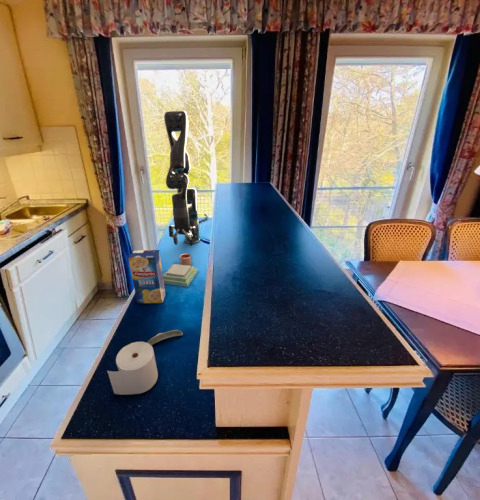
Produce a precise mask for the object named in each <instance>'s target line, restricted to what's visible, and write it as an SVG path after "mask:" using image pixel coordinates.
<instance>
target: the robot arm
mask: <svg viewBox="0 0 480 500" xmlns="http://www.w3.org/2000/svg"><path fill="white" fill-rule="evenodd" d="M163 119H164V125H165V130H166V134H167V138H168V142H169V148H170V152H169V168H168V172H167V174H166V177H165V185H166V187H167V188H168V189H169V190H177V192H176V193H173V194H172V195H171V203H172V216H173V217H172V218H173V223H172V224H170V225H168V236H169V237H170V238H172V239H173V245H175V246H176V245H179V242H178V241H179V240H178V235H182V236H184V242H185V243H187V244H189V246H190V247H193V246H194V244H196V243H198V242H200V241H201V238H200V225H199V224H200V223H201V222H204V221H206V220H208V219H209V217H208V215H207V214H206V213H204V214H203V216H205V217H206V218H204V219H201V220H199V212H198V194H197V193H198V191H197V189H196V188H194V187H189V183H190V178H189V176H188V175H189V173H190V171H191V161H190V155H189V152H188V151H187V150H186V146H187V139H188V133H189V132H188V131H189V118H188V114H187V112H186V111H185V110H170V111H165V113H164V116H163ZM178 132H179V136H178V137H177V136H176V133H178ZM188 205H190V206H189V207H188ZM173 224H174V225H173ZM174 230H175V232H174Z"/></svg>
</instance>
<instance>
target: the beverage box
mask: <svg viewBox="0 0 480 500" xmlns="http://www.w3.org/2000/svg"><path fill="white" fill-rule="evenodd" d="M127 259H128V264H129V269H130V273H131V279H132V284H133V288H134V294H135V298H136V302H137V304H163V302H164V300H165V298H166V295H167V293H166V287H165V286H166V284H164V279H163V275H164V272H163V265H162V259H161V251H160V249H147V250H146V249H139V250H138V249H137V250H136V249H134V250H132V252H131V254H130V255H129V256H128V258H127Z"/></svg>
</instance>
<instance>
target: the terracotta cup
mask: <svg viewBox="0 0 480 500" xmlns="http://www.w3.org/2000/svg"><path fill="white" fill-rule="evenodd" d="M179 260H180V261H179V262H180V265H187V266H192V257H191V254H190V253H182V254H180V256H179Z"/></svg>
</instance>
